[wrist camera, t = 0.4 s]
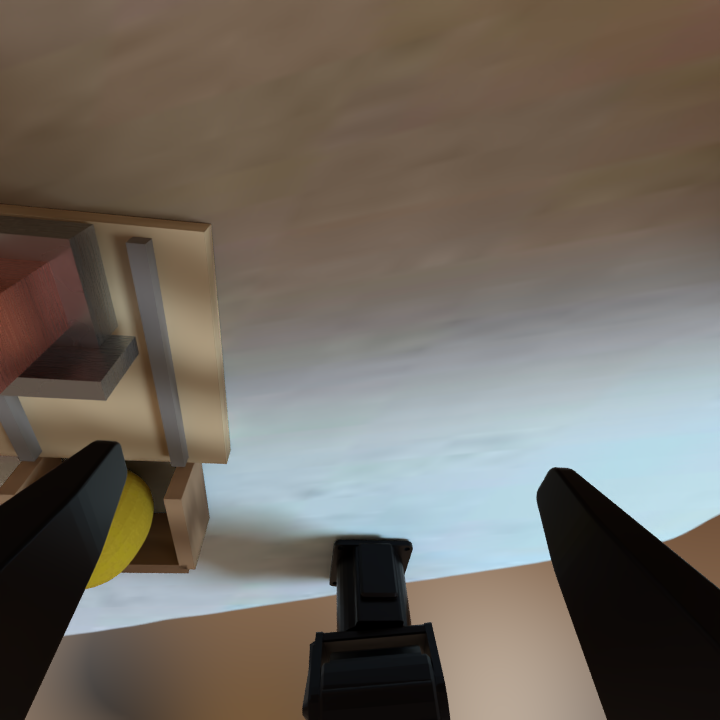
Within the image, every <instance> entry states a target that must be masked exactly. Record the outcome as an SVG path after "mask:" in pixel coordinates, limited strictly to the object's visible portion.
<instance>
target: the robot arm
mask: <svg viewBox="0 0 720 720" xmlns="http://www.w3.org/2000/svg"><path fill="white" fill-rule="evenodd" d="M126 478H127V467H126V463H125V459H124V455H123V451H122V447H121V445H120V443H119V442H117V441H108V440H96V441H94V442H92V443H90V444H89V445H87V446H86V447H84V448H83V449H81V450H80V451H78V452H77V453H76V454H74V455H73V456H71V457H70V458H68V459H67V460H65V461H64V462H62V463H61V464H60V465H58V466H57V467H55V468H54V469H52V470H51V471H49V472H48V473H46V474H45V475H44V476H42V477H41V478H39V479H38V480H36V481H35V482H33V483H32V484H30V485H29V486H28V487H26V488H25V489H23V490H22V491H20V492H19V493H17V494H16V495H14V496H13V497H12V498H10V499H9V500H7V501H6V502H4V503H3V504H1V505H0V720H25V718H26V715H27V713H28V711H29V709H30V707H31V705H32V702H33V700H34V698H35V696H36V694H37V692H38V689H39V687H40V685H41V683H42V681H43V679H44V677H45V674H46V672H47V670H48V668H49V666H50V664H51V662H52V659H53V657H54V655H55V653H56V651H57V649H58V646H59V644H60V642H61V640H62V638H63V636H64V634H65V631H66V629H67V627H68V625H69V623H70V621H71V619H72V616H73V614H74V612H75V610H76V608H77V606H78V604H79V601H80V599H81V597H82V595H83V593H84V591H85V588H86V586H87V584H88V582H89V580H90V578H91V576H92V573H93V571H94V569H95V567H96V564H97V562H98V560H99V558H100V555H101V552H102V550H103V547H104V544H105V541H106V538H107V535H108V532H109V529H110V526H111V524H112V521H113V518H114V515H115V512H116V509H117V506H118V503H119V500H120V497H121V494H122V491H123V488H124V485H125V482H126ZM537 504H538V508H539V512H540V516H541V521H542V525H543V529H544V533H545V537H546V541H547V545H548V549H549V553H550V557H551V561H552V564H553V568H554V571H555V574H556V577H557V580H558V583H559V586H560V589H561V591H562V594H563V597H564V600H565V603H566V605H567V608H568V611H569V614H570V617H571V619H572V622H573V625H574V628H575V631H576V634H577V636H578V639H579V642H580V645H581V648H582V650H583V653H584V656H585V659H586V662H587V664H588V667H589V670H590V672H591V676H592V679H593V681H594V684H595V687H596V690H597V692H598V696H599V698H600V701H601V704H602V706H603V710H604V712H605V715H606V718H607V720H720V589H719V588H718V587H716V586H715V585H714V584H713V583H712V582H710V581H709V580H708V579H707V578H706V577H704V576H703V575H702V574H701V573H699V572H698V571H697V570H696V569H694V568H693V567H692V566H691V565H690V564H688V563H687V562H686V561H685V560H683V559H682V558H681V557H680V556H678V555H677V554H676V553H675V552H673V551H672V550H671V549H670V548H669V547H667V546H666V545H665V544H664V543H662V542H661V541H660V540H659V539H658V538H656V537H655V536H654V535H653V534H651V533H650V532H649V531H648V530H646V529H645V528H644V527H643V526H642V525H640V524H639V523H638V522H637V521H635V520H634V519H633V518H632V517H630V516H629V515H628V514H627V513H626V512H624V511H623V510H622V509H621V508H619V507H618V506H617V505H616V504H614V503H613V502H612V501H611V500H610V499H608V498H607V497H606V496H605V495H603V494H602V493H601V492H600V491H598V490H597V489H596V488H595V487H594V486H592V485H591V484H590V483H589V482H587V481H586V480H585V479H584V478H583V477H581V476H580V475H579V474H578V473H576V472H575V471H574V470H572V469H569V468H558V467H554V468H552V469H550V470H549V471H548V473H547V475H546V477H545V478H544V480H543V482H542V484H541V485H540V487H539V489H538V491H537ZM412 550H413V547H412V543H411V542H409V541H371V540H338V541H336V542H335V543H334V550H333V557H332V565H331V572H330V585H331V586H337V632H330V633H323V632H316V638H315V641H314V642H313V643H311V644H310V656H309V671H308V677H307V683H306V689H305V695H304V701H303V708H302V709H303V710H302V711H303V712H302V713H303V716H304V718H305V719H306V720H450V713H449V705H448V698H447V692H446V686H445V681H444V676H443V672H442V668H441V663H440V659H439V654H438V650H437V646H436V641H435V637H434V632H433V627H432V623H431V622H429V623H424V624H422V625H411V619H410V611H409V604H408V598H407V590H406V583H405V576H404V575H405V571H406V568H407V565H408V562H409V559H410V556H411V553H412Z"/></svg>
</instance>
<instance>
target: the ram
mask: <svg viewBox="0 0 720 720" xmlns="http://www.w3.org/2000/svg"><path fill="white" fill-rule="evenodd" d="M117 327H118V323H117V319H116V315H115V311H114V307H113V303H112V299H111V295H110V291H109V286H108V282H107V278H106V274H105V270H104V266H103V262H102V258H101V254H100V249H99V245H98V241H97V237H96V233H95V229H94V225H93V224H87V223H76V222H65V221H55V220H44V219H33V218H23V217H12V216H1V215H0V395H2V396H22V397H41V398H61V399H81V400H100V401H106V400H107V399H108V397H109V396H110V394H111V393H112V392H113V390H114V389H115V387H116V386H117V384H118V383H119V382H120V380H121V379H122V377H123V376H124V374H125V373H126V372H127V370H128V369H129V367H130V366H131V364H132V363H133V362H134V360H135V359H136V357H137V356H138V354H139V351H138V346H137V342H136V337H135V336H124V335H111V334H112V333H113V332H114V331H115V329H116V328H117Z"/></svg>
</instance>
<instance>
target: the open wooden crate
mask: <svg viewBox="0 0 720 720" xmlns="http://www.w3.org/2000/svg"><path fill="white" fill-rule="evenodd" d="M61 463H62V461H61V458H53V457H38V458H37V459H36V460H35V462H32V461H22V462H21V463H20V464H19V465H18V467H17V468H16V469H15V470H14V472H13V473H12V474H11V475H10V477H9V478H8V479H7V480H6V482H5V483H4V484H3V485H2V486H1V488H0V504H3V503H4V502H6V501H7V500H9V499H10V498H12V497H13V496H14V495H16V494H17V493H19V492H20V491H22V490H23V489H25V488H26V487H28V486H29V485H30V484H32V483H33V482H35V481H36V480H38V479H39V478H41V477H42V476H44V475H45V474H46V473H48V472H49V471H51V470H52V469H54V468H55V467H57V466H58V465H60V464H61ZM163 500H164V504H165V508H166V512H167V513H153V518H152V523H151V527H150V530H149V533H148V535H147V537H146V539H145V541H144V543H143V545H142V546H141V548H140V549H139V551H138V552H137V554H136V555H135V557H134V558H133V560H132V561H131V562H130V563H129V565H128V566H127V567H126V568H125V569H124V570H123V571H122V572H121V573H189V570H190V569H195V568H196V565H197V561H198V557H199V554H200V550H201V547H202V543H203V540H204V536H205V532H206V529H207V525H208V522H209V518H210V517H209V511H208V504H207V497H206V490H205V483H204V476H203V469H202V463H189V462H187V463H186V466H185V467H176V469H175V471H174V474H173V476H172V479H171V481H170V484H169V486H168V489H167V491H166V494H165V496H164V499H163Z"/></svg>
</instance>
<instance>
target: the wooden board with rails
mask: <svg viewBox="0 0 720 720" xmlns="http://www.w3.org/2000/svg"><path fill="white" fill-rule="evenodd" d="M0 215H1V216H12V217H23V218H33V219H44V220H55V221H65V222H76V223H87V224H93V225H94V229H95V233H96V237H97V241H98V245H99V249H100V254H101V258H102V262H103V266H104V270H105V274H106V278H107V282H108V286H109V291H110V295H111V299H112V303H113V307H114V311H115V315H116V319H117V323H118V327H117V328H116V329H115V331H114V332H113V333H112V334H111V335H124V336H135V337H136V342H137V346H138V351H139V354H138V356H137V357H136V359H135V360H134V362H133V363H132V364H131V366H130V367H129V369H128V370H127V372H126V373H125V374H124V376H123V377H122V379H121V380H120V382H119V383H118V384H117V386H116V387H115V389H114V390H113V392H112V393H111V394H110V396H109V397H108V399H107V400H106V401H100V400H81V399H61V398H41V397H22V396H2V395H0V456H18V458H19V460H20V461H32V462H35V460H36V459H37V458H38V457H53V458H70V457H71V456H73V455H74V454H76V453H77V452H78V451H80V450H81V449H83V448H84V447H86V446H87V445H89V444H90V443H92V442H94V441H96V440H108V441H117V442H119V443H120V445H121V447H122V451H123V455H124V459H125V460H135V461H162V462H171V466H173V467H185V466H186V463H187V462H189V463H217V464H227V461H228V457H229V454H230V438H229V427H228V415H227V403H226V392H225V380H224V369H223V357H222V345H221V334H220V322H219V311H218V299H217V287H216V276H215V264H214V253H213V241H212V229H211V224H204V223H194V222H183V221H173V220H163V219H152V218H142V217H131V216H121V215H111V214H100V213H90V212H79V211H69V210H59V209H48V208H38V207H27V206H17V205H7V204H0Z"/></svg>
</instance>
